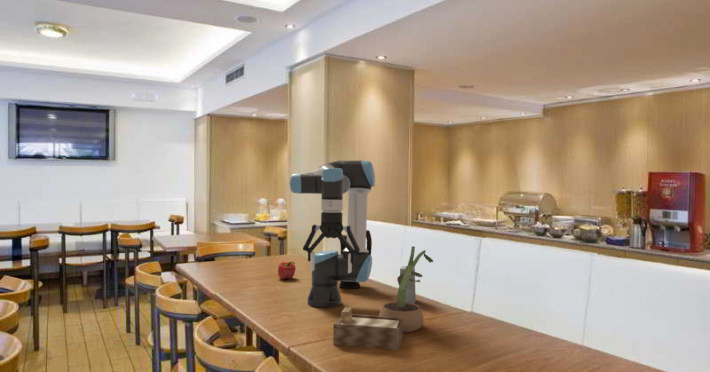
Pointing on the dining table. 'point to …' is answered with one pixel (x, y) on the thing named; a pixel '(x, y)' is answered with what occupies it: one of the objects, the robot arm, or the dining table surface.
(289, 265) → the vegetable
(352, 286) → the jug
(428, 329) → the dining table surface
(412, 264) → the potted plant
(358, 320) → the lid
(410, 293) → the skincare box
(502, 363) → the dining table surface
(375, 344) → the box
